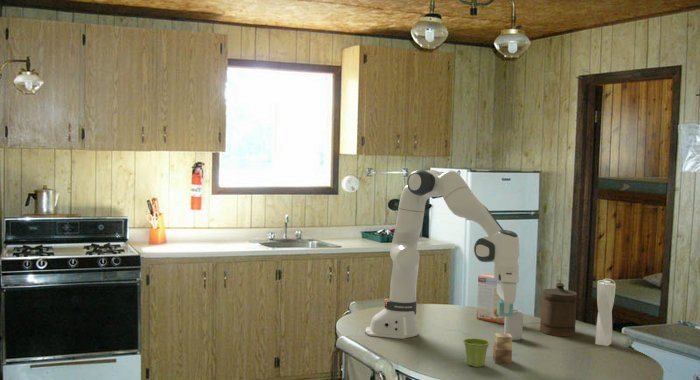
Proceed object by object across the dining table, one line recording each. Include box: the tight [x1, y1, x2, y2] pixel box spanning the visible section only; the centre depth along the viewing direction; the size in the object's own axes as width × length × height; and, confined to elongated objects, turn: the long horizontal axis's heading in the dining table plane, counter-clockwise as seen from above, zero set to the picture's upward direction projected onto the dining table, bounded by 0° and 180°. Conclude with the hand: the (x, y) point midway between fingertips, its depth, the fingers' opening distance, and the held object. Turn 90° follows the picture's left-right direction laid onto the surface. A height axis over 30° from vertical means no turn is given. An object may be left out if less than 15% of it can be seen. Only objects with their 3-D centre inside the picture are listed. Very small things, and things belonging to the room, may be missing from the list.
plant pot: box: [463, 337, 490, 368], centre depth 270 cm, size 9×9×9 cm
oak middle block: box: [494, 332, 513, 352], centre depth 275 cm, size 6×6×5 cm
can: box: [503, 308, 524, 341], centre depth 310 cm, size 8×8×12 cm
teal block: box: [497, 300, 514, 317], centre depth 274 cm, size 5×5×5 cm
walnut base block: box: [492, 345, 513, 365], centre depth 275 cm, size 6×6×5 cm
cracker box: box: [476, 273, 505, 324], centre depth 341 cm, size 14×6×21 cm, turn 49°
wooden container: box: [539, 282, 578, 337], centre depth 323 cm, size 15×15×22 cm
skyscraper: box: [594, 278, 617, 347], centre depth 305 cm, size 8×8×28 cm
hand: (504, 310), depth 274 cm, fingers closed on teal block, 5 cm apart
